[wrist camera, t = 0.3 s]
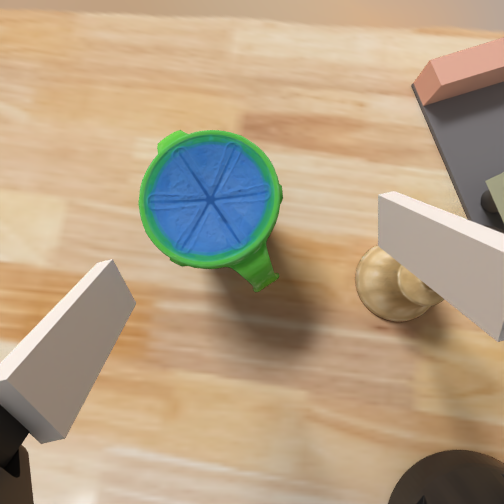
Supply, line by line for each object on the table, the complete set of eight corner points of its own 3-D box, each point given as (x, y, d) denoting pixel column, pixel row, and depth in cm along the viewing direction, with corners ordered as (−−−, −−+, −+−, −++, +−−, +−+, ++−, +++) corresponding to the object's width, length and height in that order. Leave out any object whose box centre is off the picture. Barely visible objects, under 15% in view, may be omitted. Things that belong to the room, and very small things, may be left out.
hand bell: (338, 280, 27) (438, 275, 11) (391, 226, 28) (558, 149, 12) (398, 338, 26) (600, 420, 10) (453, 281, 27) (725, 276, 11)
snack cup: (157, 189, 30) (101, 140, 20) (238, 147, 30) (224, 77, 20) (217, 312, 28) (189, 329, 17) (304, 266, 28) (326, 256, 18)
